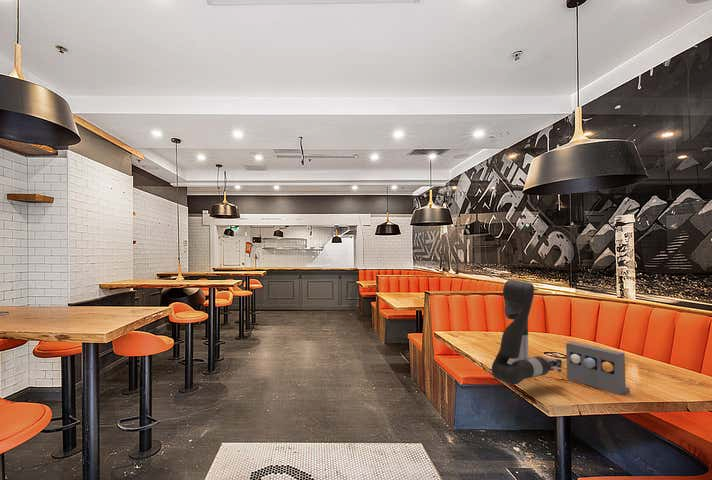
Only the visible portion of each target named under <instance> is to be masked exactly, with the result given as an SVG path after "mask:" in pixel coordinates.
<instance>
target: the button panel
mask: <svg viewBox="0 0 712 480" xmlns="http://www.w3.org/2000/svg"><path fill="white" fill-rule="evenodd" d="M565 347H566V348H565V349H566V379H568V380H570V381H573V382H577V383H580V384H584V385H586V386H589V387H593V388H594V389H595V388H596V389H599V390H602V391H606V392H609V393H612V394H616V395H618V396H620V395H623V394H626V393H630V392H631V390H630V388H631V387H628V386H626V364H625V363H626V361H625V357H626V355H625V353H624V352H620V351H616V350H611V349H606V348H603V347H597V346H594V345H590V344H589V345H588V344H585V343H580V342H579V343H578V342H574V341H571V342H566V343H565ZM576 353H577V354H581V363H573V362H572V361H571V358H570V357H571V355H572V354H576ZM590 357H592V358H594V359H596V361H597V366H596V367H593V368H588V367H586V366H585V365H584V359H586V358H590ZM607 361H611V362H613V363H614V371H611V372H606V371H604V370H603V368H602V363H603V362H607Z"/></svg>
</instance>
